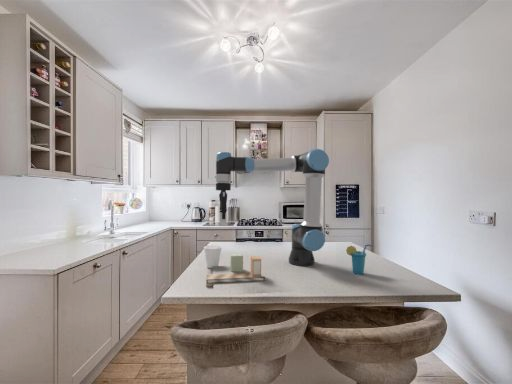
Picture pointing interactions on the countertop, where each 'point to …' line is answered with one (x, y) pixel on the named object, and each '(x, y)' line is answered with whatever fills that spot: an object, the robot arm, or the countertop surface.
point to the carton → (236, 262)
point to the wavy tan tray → (231, 278)
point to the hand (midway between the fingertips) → (222, 224)
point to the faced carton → (255, 266)
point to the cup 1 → (212, 255)
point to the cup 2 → (357, 259)
